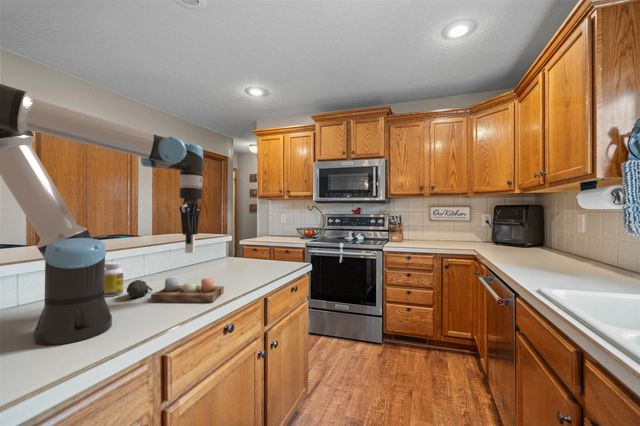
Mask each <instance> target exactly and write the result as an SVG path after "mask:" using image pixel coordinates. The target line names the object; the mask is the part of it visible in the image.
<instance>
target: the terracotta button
mask: <svg viewBox="0 0 640 426" xmlns="http://www.w3.org/2000/svg"><path fill="white" fill-rule="evenodd" d="M200 281H201V285H200V286H201V291H202V292H211V291H213V290H214V286H215V283H214V282H215V279H214V278H213V277H212V278H211V277H206V278H202V279H201V280H200Z"/></svg>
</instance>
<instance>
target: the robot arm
mask: <svg viewBox="0 0 640 426" xmlns="http://www.w3.org/2000/svg"><path fill="white" fill-rule="evenodd" d="M33 132H36V133H39V134H42V135H43V134H44V135H48V136H51V137H52V136H53V137H57V138H61V139H64V140H69V141H73V142H77V143H81V144H86V145H88V146H89V145H90V146H93V147H97V148H98V147H99V148H102V149H106V150H110V151H114V152H118V153H123V154H127V155H131V156H135V157H140V163H141V165H142V166H143V167H147V168H152V169H164V170H165V169H166V170H173V171H174V170H175V171H179V186H180V188H179V198H180V199H183V201H182V206H181V205H180V206H179V208H178V209H179V213H180V220H181V229H182V232H181V233H182V235H183V236H185V242H184V243H185V246H184V247H185V248H184V249H185V250H184V251H185V252H184V253H185V254H194V253H195V249H196V247H195V246H196V245H195V244H196V241H195V240H196V236H195V235H199V223H200V216H201V211H202V208H201V206H200V207H199V200H201V199H203V189H202V188H203V183H204V180H205V179H203V173H204V172H203V171H204V150H203V149H204V148H203V147H201V146H200V145H198V144H195V143H184V141H182V140H181V139H180V138H178V137H176V136H165V137H164V136H161V135H158V134H154V133H152V132H151V133H150V132H148V131H143V130H141V129H137V128H133V127H131V126H127V125H123V124H120V123H118V122H114V121H111V120H107V119H103V118H100V117H97V116H93V115H90V114H87V113H83V112H80V111H76V110H73V109H69V108H67V107H63V106H60V105H57V104H53V103H49V102H47V101H43V100H40V99H36V98H35V97H34V96H33V95H32V94H31V93H30V92H28V91H25V90H22V89H18V88H15V87H13V86H10V85H9V86H8V85H6V84H3V83H0V177H1V178H2V181H4V183H5V185H6V186H7V188H8V190H9V191H10V192H11V195H12V196H13V198H14V200H16V202H17V204H18V205H19V207H20V208H21V210H22V212H23V213H24V215H25V217H26V218H27V220H28V221H29V223H30V224H31V226H32V228H33V229H34V231H35V232H36V234H37V235H38V237H39V239H40V240H39V242H38V243H37V246H36V248H37V250H38V251H39V252H40V254H41V256H42V258H43V260H44V303H43V304H44V306H43V309H42V311H41V314H40V315H39V319H38V321H37V325H36V326H35V328H34V330H33V342H34V343H35V344H38V345H46V346H52V345H55V346H56V345H64V344H69V343H75V342H79V341H83V340H86V339H90V338H92V337H95V336H99V335H102V333H105V332H107V331H108V330H109V329H111V327H112V326H113V316H112V314H111V312H110V308H109V306H108V304H107V301H106V299H105V296H104V288H105V270H106V268H105V263H106V254H107V250H106V244H105V243H104V242H103V241H102V240H100V239H94V238H93V236H92V234H91V233H90V231H89V230H88V228H87V227H83V226H80V225H78V223H77V221H76V220H75V218H74V216H73V214H72V213H71V210H70V209H69V207H68V205H67V204H66V203H65V201H64V199H63V197H62V195H61V193H60V192H59V191H58V189H57V186H55V184H54V182H53V180H52V178H51V177H50V175H49V173H48V172H47V170H46V169H45V166H44V165H43V163H42V162H41V160H40V158H39V156H38V155H37V152H36V151H35V149H34V147H33V144H34V142H35V141H36V137H35V135H34V133H33Z"/></svg>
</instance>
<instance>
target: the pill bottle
mask: <svg viewBox="0 0 640 426" xmlns="http://www.w3.org/2000/svg"><path fill="white" fill-rule="evenodd" d="M121 265H122V263H121V262H120V261H112V262H105V288H104V297H106V298H107V297H116V296H120V295H122V294H123V293H124V270H123V269H122V268H121Z"/></svg>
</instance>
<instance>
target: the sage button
mask: <svg viewBox="0 0 640 426" xmlns="http://www.w3.org/2000/svg"><path fill="white" fill-rule="evenodd" d="M182 286H183V292H195V291H196V286H197V283H194V282H189V283H187V282H186V283H184V284H183V285H182Z"/></svg>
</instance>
